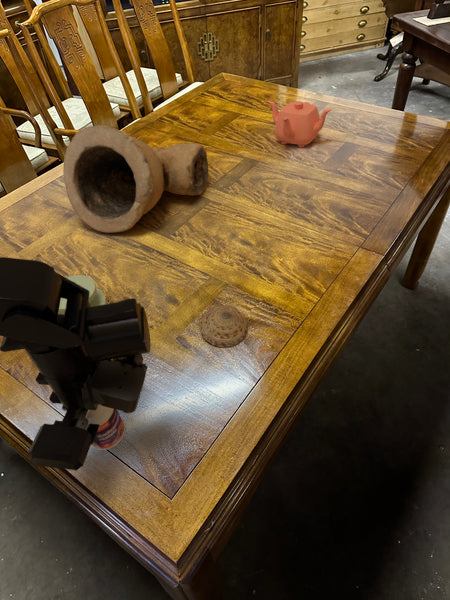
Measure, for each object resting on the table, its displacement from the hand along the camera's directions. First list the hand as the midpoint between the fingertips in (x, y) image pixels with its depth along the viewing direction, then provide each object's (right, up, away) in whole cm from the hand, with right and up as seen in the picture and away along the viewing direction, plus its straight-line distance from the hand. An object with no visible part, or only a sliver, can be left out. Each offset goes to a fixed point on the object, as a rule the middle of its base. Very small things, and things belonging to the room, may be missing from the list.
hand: (102, 425), depth 60 cm
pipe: (-3, +43, +49) cm, 65 cm away
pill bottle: (0, -2, +2) cm, 3 cm away
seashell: (+17, +13, +15) cm, 26 cm away
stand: (-11, +16, +22) cm, 29 cm away
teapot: (+38, +65, +65) cm, 99 cm away
